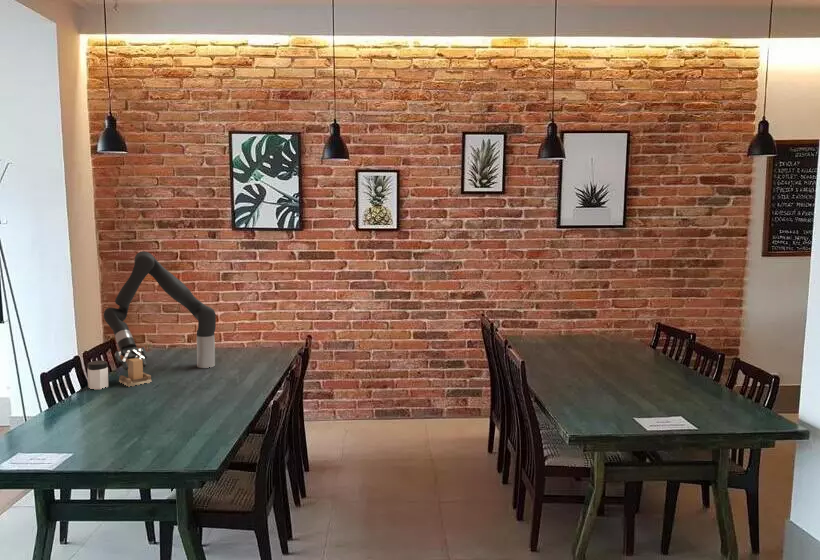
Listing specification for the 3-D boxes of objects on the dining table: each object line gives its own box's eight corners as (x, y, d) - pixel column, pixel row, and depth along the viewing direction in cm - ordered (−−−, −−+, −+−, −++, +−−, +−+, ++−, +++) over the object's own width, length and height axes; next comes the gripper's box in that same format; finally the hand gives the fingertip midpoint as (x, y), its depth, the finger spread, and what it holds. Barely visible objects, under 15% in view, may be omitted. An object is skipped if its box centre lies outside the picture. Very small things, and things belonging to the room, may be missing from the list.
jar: (110, 387, 277) (109, 363, 276) (90, 390, 272) (89, 365, 270) (105, 383, 284) (104, 359, 282) (86, 386, 278) (85, 361, 277)
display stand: (119, 382, 286) (118, 375, 286) (141, 378, 294) (141, 371, 294) (128, 387, 279) (128, 380, 278) (151, 382, 287) (151, 375, 286)
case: (128, 379, 287) (127, 359, 286) (137, 377, 290) (136, 357, 289) (133, 381, 283) (133, 361, 282) (143, 379, 286) (142, 359, 285)
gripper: (112, 338, 284) (123, 366, 277) (142, 334, 294) (152, 361, 288) (108, 347, 288) (118, 374, 281) (137, 343, 298) (148, 369, 292)
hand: (136, 367), depth 285 cm, fingers open, 8 cm apart
